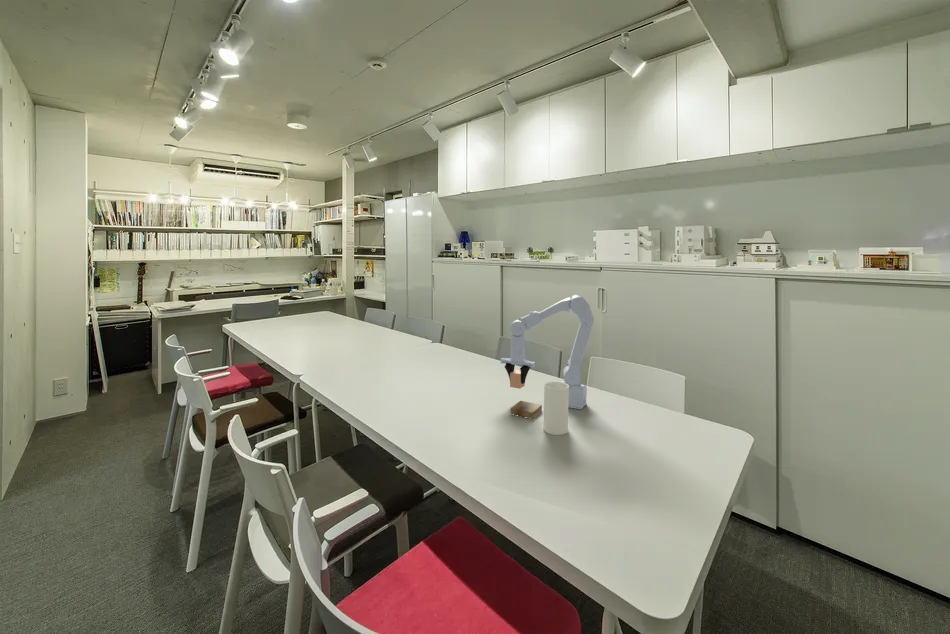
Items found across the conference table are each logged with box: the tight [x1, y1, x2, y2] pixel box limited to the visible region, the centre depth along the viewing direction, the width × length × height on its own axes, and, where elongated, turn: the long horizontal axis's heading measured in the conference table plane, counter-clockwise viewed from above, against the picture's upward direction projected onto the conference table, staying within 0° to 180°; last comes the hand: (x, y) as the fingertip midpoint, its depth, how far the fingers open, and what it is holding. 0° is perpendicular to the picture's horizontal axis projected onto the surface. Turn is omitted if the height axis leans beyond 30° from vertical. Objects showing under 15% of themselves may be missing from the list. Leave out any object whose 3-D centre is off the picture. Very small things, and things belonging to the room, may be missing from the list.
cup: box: [543, 381, 569, 436], centre depth 139 cm, size 8×8×16 cm
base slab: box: [509, 400, 543, 420], centre depth 155 cm, size 9×9×3 cm
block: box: [509, 369, 526, 389], centre depth 165 cm, size 4×4×6 cm
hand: (517, 382), depth 165 cm, fingers closed on block, 4 cm apart
